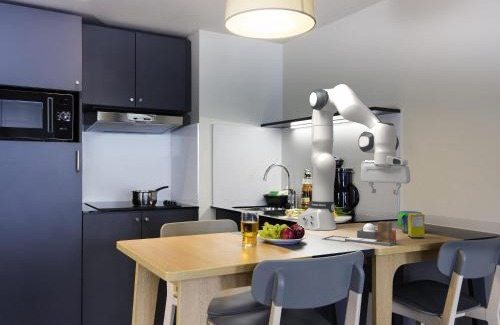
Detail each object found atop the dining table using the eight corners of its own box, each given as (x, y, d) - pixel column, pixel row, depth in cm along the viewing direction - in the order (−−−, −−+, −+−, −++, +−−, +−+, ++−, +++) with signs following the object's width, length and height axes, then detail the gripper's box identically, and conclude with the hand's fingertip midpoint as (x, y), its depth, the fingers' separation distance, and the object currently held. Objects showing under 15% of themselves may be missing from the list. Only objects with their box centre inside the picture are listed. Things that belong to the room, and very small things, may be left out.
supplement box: (420, 236, 210) (421, 213, 210) (424, 239, 204) (424, 214, 204) (407, 236, 210) (407, 212, 210) (410, 238, 204) (411, 214, 204)
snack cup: (405, 235, 215) (405, 213, 215) (390, 232, 225) (390, 211, 225) (430, 233, 222) (430, 212, 222) (414, 230, 231) (414, 210, 231)
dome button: (361, 235, 203) (361, 223, 203) (365, 234, 207) (365, 222, 207) (372, 237, 200) (372, 224, 200) (376, 235, 204) (376, 223, 204)
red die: (382, 240, 198) (382, 230, 198) (385, 239, 201) (385, 228, 201) (392, 241, 195) (392, 230, 195) (395, 240, 199) (395, 229, 199)
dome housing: (357, 238, 202) (357, 230, 202) (363, 236, 209) (363, 228, 209) (374, 240, 198) (374, 232, 198) (380, 238, 204) (381, 230, 204)
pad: (321, 239, 200) (321, 238, 200) (332, 236, 209) (332, 235, 209) (345, 241, 193) (345, 241, 193) (355, 238, 202) (355, 237, 202)
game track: (344, 241, 195) (344, 239, 195) (352, 238, 202) (352, 236, 202) (389, 246, 184) (389, 243, 184) (396, 243, 190) (396, 241, 190)
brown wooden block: (376, 241, 189) (376, 222, 189) (380, 240, 193) (380, 221, 193) (388, 243, 186) (388, 223, 186) (392, 241, 190) (393, 222, 190)
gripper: (358, 160, 193) (357, 192, 193) (407, 160, 181) (406, 195, 181) (364, 160, 198) (363, 192, 198) (411, 161, 186) (411, 194, 186)
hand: (384, 193), depth 189 cm, fingers open, 8 cm apart
